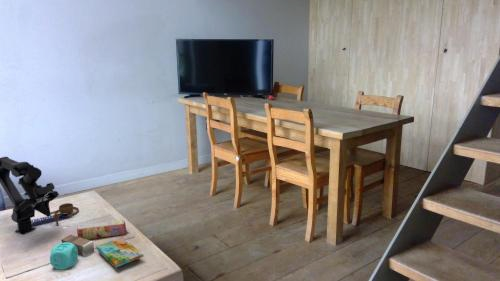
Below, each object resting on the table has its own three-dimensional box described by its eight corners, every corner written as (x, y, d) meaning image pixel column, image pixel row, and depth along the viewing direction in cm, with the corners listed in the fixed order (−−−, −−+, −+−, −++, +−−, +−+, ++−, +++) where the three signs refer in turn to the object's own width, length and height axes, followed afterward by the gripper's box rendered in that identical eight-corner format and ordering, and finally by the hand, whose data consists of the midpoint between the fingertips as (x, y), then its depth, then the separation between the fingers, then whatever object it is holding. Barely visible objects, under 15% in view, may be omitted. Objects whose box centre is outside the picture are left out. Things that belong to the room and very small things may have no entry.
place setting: (88, 212, 214) (87, 202, 213) (58, 228, 196) (56, 217, 195) (63, 207, 220) (62, 197, 219) (32, 222, 202) (30, 212, 201)
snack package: (126, 229, 192) (124, 217, 191) (126, 236, 186) (124, 222, 185) (79, 236, 187) (77, 223, 185) (77, 243, 180) (75, 229, 179)
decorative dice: (79, 259, 167) (76, 241, 165) (71, 269, 159) (68, 251, 157) (59, 259, 166) (57, 242, 164) (51, 270, 159) (48, 252, 157)
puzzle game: (122, 235, 177) (143, 252, 163) (123, 244, 178) (143, 262, 164) (95, 244, 170) (115, 262, 155) (97, 254, 171) (116, 273, 156)
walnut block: (61, 239, 173) (83, 246, 167) (70, 234, 177) (93, 241, 171) (62, 249, 174) (84, 257, 168) (72, 244, 179) (94, 251, 172)
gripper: (26, 182, 169) (45, 212, 168) (57, 174, 187) (75, 201, 186) (9, 196, 172) (29, 226, 171) (42, 186, 190) (59, 213, 189)
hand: (49, 216), depth 179 cm, fingers closed
